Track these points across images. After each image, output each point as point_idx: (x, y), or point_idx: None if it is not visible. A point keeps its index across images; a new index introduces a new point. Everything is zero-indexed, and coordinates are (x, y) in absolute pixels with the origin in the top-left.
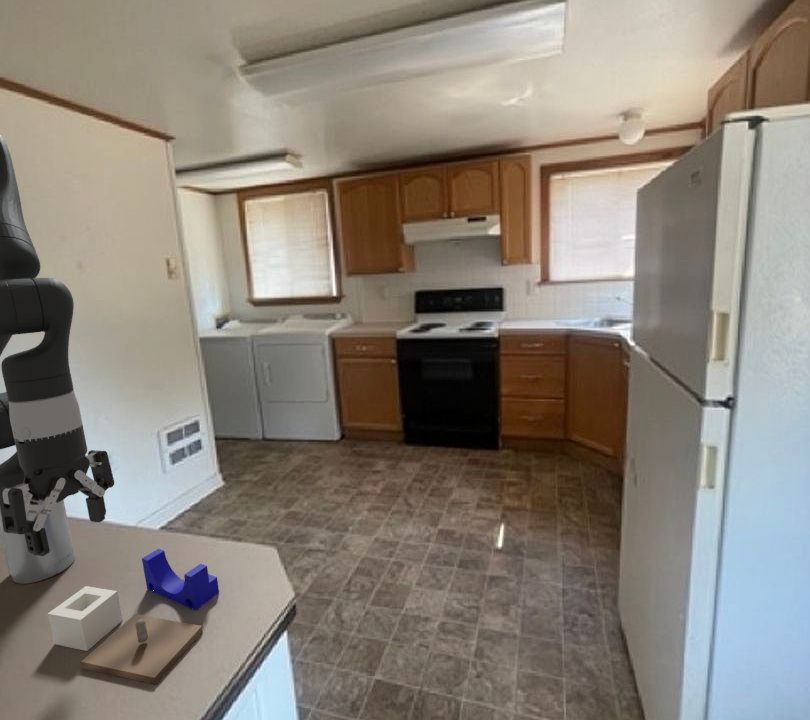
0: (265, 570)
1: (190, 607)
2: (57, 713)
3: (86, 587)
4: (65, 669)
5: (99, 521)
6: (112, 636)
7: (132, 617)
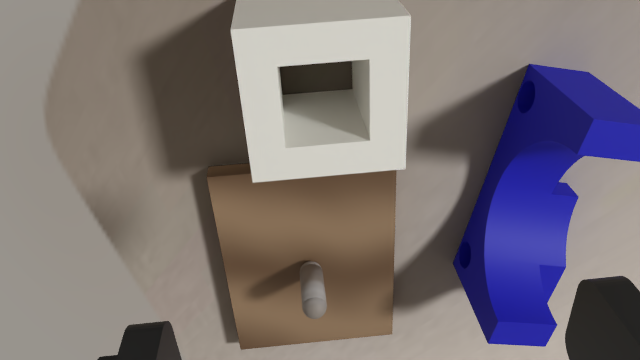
0: None
1: (460, 248)
2: (102, 229)
3: (402, 28)
4: (187, 128)
5: (567, 343)
6: None
7: None
